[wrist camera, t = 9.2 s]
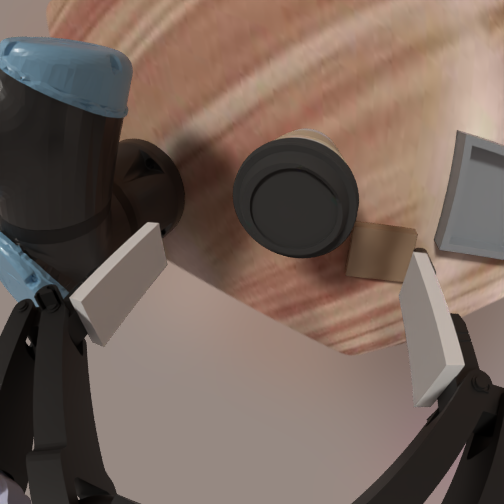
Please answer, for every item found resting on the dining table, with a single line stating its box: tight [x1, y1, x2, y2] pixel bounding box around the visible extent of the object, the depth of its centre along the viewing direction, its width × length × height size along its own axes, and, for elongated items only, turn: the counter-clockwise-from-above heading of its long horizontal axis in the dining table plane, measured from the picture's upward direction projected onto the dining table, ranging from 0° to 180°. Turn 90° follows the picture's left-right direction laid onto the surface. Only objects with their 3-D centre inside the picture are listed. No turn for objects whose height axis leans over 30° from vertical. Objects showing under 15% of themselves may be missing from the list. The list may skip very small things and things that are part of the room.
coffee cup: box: [233, 129, 359, 258], centre depth 24 cm, size 9×9×15 cm
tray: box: [434, 130, 504, 260], centre depth 25 cm, size 14×14×2 cm
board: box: [346, 221, 418, 282], centre depth 34 cm, size 8×7×2 cm
